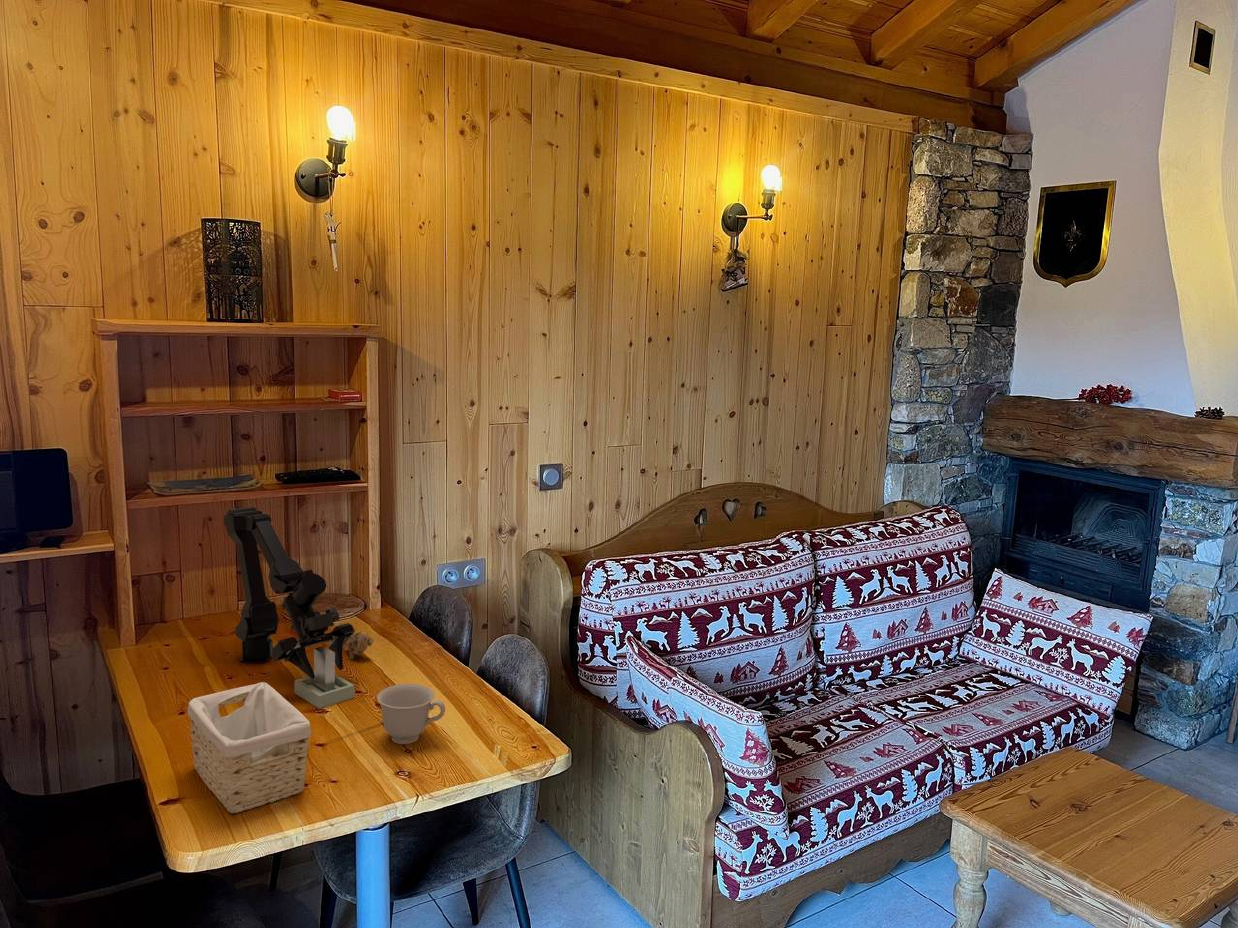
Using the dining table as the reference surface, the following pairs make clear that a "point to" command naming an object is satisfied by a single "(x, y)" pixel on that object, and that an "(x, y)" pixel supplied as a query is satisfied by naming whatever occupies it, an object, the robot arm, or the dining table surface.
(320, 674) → the rectangular steel block
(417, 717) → the teacup
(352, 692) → the storage box
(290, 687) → the dining table surface
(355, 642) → the lion figurine
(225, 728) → the storage basket
